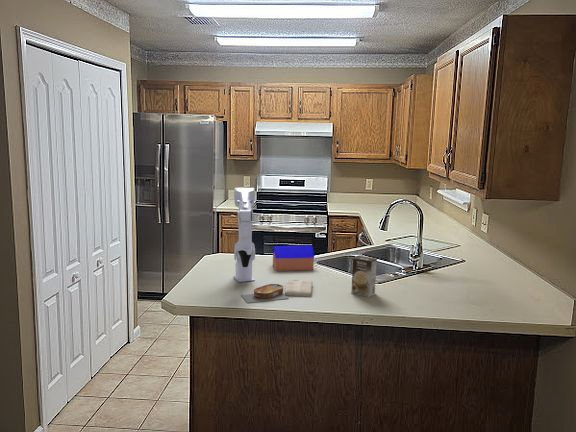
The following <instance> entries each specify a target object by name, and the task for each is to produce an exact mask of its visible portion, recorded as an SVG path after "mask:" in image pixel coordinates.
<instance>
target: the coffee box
mask: <svg viewBox="0 0 576 432" xmlns="http://www.w3.org/2000/svg"><path fill="white" fill-rule="evenodd" d="M377 262H378V258H374V257H371V256H370V257H369V256H366V255H361V254H360V255H357V256H355V257H353V258H352V272H351V273H352V274H351V275H352V276H351V291H350V292H351V294H354V295H357V296H358V295H359V296H363V297H367V298H368V297H369V298H370V297H372V296H373V295H374V294H376V285H377V284H376V282H377V281H376V280H377V279H376V278H377V265H378V263H377Z"/></svg>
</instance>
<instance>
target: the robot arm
mask: <svg viewBox="0 0 576 432" xmlns="http://www.w3.org/2000/svg"><path fill="white" fill-rule="evenodd" d="M233 191H234V192H233V195H234V197H233V198H234V199H233V200H234V206H235V207H237V208H238V211H237V225H238V241H237V242H236V243H235V244H234V252H233V255H234V256H233V258H234V261H236V262H235V275H233V278H234V279H235V280H236V281H237V282H238V283H242V282H251V281H252V282H253V281H255V280H256V279H255V278H254V277H253V261H255V259H256V248H255V247H256V246H255V244H254V242H253V241H252V240H253V239H252V237H253V236H252V235H253V231H252V230H253V224H252V223H253V221H254V211H253V209H252V207H254V205H255V199H256V193H255V192H256V189H255V187H234V189H233Z"/></svg>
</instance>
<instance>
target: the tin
mask: <svg viewBox="0 0 576 432" xmlns="http://www.w3.org/2000/svg"><path fill="white" fill-rule="evenodd" d="M282 293H283V294H284V285H281V284H278V283H269V284H265V285H263V286H259V287H256V288H254V289H253V294H254V296H255V297H257V298H261V299H268V298H272V297H274V296H277V295H280V294H282Z"/></svg>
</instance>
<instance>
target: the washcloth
mask: <svg viewBox="0 0 576 432" xmlns="http://www.w3.org/2000/svg"><path fill="white" fill-rule="evenodd" d="M284 290H285V291H284V295H286V296H287V297H291V296H292V297H294V296H296V297H312V296H313V294H312V290H313V281H312V280H301V279H300V280H299V279H288V280H287V281H286V284H285V289H284Z"/></svg>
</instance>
